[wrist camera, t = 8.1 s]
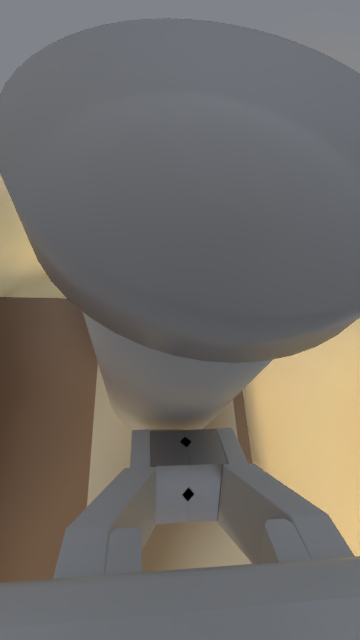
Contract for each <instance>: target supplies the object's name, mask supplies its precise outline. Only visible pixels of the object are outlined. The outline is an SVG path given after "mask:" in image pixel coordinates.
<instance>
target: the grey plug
mask: <svg viewBox="0 0 360 640" xmlns="http://www.w3.org/2000/svg"><path fill="white" fill-rule="evenodd" d="M0 173H1V176H2V178H3V180H4V183H5V185H6V187H7V190H8V192H9V194H10V197H11V199H12V201H13V204H14V206H15V208H16V211H17V213H18V215H19V218H20V220H21V222H22V225H23V227H24V229H25V232H26V234H27V236H28V239H29V241H30V243H31V246H32V248H33V250H34V252H35V255H36V257H37V259H38V261H39V263H40V264H41V266H42V267H43V269H44V270H45V272H46V273H47V275H48V276H49V278H50V279H51V281H52V282H53V283H54V284H55V285H56V286H57V288H58V289H59V290H60V291H61V292H62V293H63V294H64V295H65V296H66V297H67V299H68V300H69V301H71V302H72V303H73V304H74V305H75V306H77V307H78V308H79V309H80V310H82V312H83V315H84V318H85V322H86V325H87V328H88V332H89V335H90V338H91V341H92V345H93V348H94V351H95V355H96V358H97V361H98V364H99V368H100V371H101V374H102V378H103V381H104V384H105V388H106V391H107V394H108V397H109V401H110V404H111V406H112V409H113V411H114V413H115V414H116V416H117V417H118V419H119V420H120V421H121V422H122V423H123V425H125V426H126V427H127V428H128V429H129V430H130V431H132V430H144V429H149V431H150V429H183V430H191V429H203V428H204V427H205V426H206V425H207V424H208V423H209V422H210V421H211V420H212V419H213V418H214V417H215V416H217V415H218V414H219V413H220V412H221V411H222V410H223V409H224V408H225V407H226V406H227V405H228V404H229V403H230V402H231V401H232V400H233V399H234V398H235V397H236V396H237V395H238V394H239V393H240V392H241V391H242V390H243V389H244V388H245V387H246V386H247V385H248V384H249V383H250V382H251V381H252V380H253V379H254V378H255V377H256V376H257V375H258V374H259V373H260V372H261V371H262V370H263V369H264V368H265V367H266V366H267V365H268V364H269V363H270V362H271V361H272V360H273V359H276V358H281V357H286V356H291V355H294V354H297V353H300V352H302V351H305V350H308V349H311V348H314V347H316V346H318V345H320V344H322V343H324V342H325V341H327V340H329V339H331V338H333V337H334V336H336V335H338V334H339V333H340V332H342V331H343V330H344V329H345V328H347V327H348V326H349V325H350V324H352V323H353V322H354V321H355V320H357V319H358V318H359V317H360V74H359V73H358V72H356V71H355V70H353V69H351V68H349V67H348V66H346V65H344V64H342V63H341V62H339V61H337V60H335V59H333V58H331V57H329V56H327V55H325V54H323V53H320V52H318V51H316V50H314V49H311V48H309V47H307V46H304V45H302V44H299V43H297V42H294V41H291V40H288V39H285V38H282V37H279V36H276V35H272V34H269V33H266V32H262V31H258V30H255V29H250V28H246V27H240V26H236V25H231V24H224V23H218V22H212V21H203V20H192V19H170V18H166V19H141V20H131V21H123V22H117V23H111V24H105V25H101V26H97V27H94V28H90V29H86V30H83V31H80V32H77V33H74V34H72V35H69V36H66V37H64V38H62V39H60V40H58V41H56V42H54V43H52V44H50V45H48V46H46V47H45V48H43V49H42V50H40V51H39V52H37V53H35V54H34V55H32V56H31V57H30V58H29V59H28V60H26V61H25V62H24V63H23V64H22V65H21V66H20V67H19V68H17V70H16V71H15V72H14V74H13V75H12V76H11V77H10V78H9V80H8V81H7V82H6V83H5V85H4V87H3V89H2V91H1V93H0Z"/></svg>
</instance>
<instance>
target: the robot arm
mask: <svg viewBox="0 0 360 640" xmlns="http://www.w3.org/2000/svg"><path fill="white" fill-rule="evenodd" d="M206 521H218V522H217V523H218V524H219V525H220V526H221V528H222V529H223V530H224V531H225V532H226V533H227V535H228V536H229V537H230V538H231V539H232V540H233V542H234V543H235V544H236V545H237V546H238V548H239V549H240V550H241V551H242V552H243V553H244V555H245V556H246V557H247V558H248V559H249V560H250V562H251V563H252V564H245V565H232V566H218V567H205V568H191V569H178V570H165V571H151V572H142V549H143V547H144V546H145V544H146V542H147V540H148V538H149V537H150V535H151V533H152V531H153V529H154V528H155V525H158V524H169V523H181V522H206ZM0 640H360V556H357V557H355V556H354V555H353V553H352V551H351V550H350V548H349V547H348V545H347V544H346V542H345V540H344V539H343V537H342V536H341V534H340V533H339V531H338V529H337V528H336V526H335V525H334V523H333V522H332V520H331V518H330V517H329V515H328V514H326V513H325V512H323V511H322V510H320V509H319V508H318V507H316V506H315V505H313V504H312V503H310V502H309V501H307V500H306V499H304V498H303V497H301V496H300V495H299V494H297V493H296V492H294V491H293V490H291V489H290V488H288V487H287V486H285V485H284V484H282V483H281V482H280V481H278V480H277V479H275V478H274V477H272V476H271V475H269V474H268V473H266V472H265V471H263V470H262V469H261V468H259V467H258V466H256V465H255V464H253V463H248V462H247V460H246V457H245V455H244V453H243V451H242V448H241V446H240V444H239V442H238V439H237V437H236V435H235V433H234V430H233V429H232V428H231V427H227V428H215V429H191V430H183V429H150V431H149V429H144V430H132V437H131V455H130V468H124V469H123V470H122V471H121V472H120V473H119V474H118V475H117V476H116V477H115V479H114V480H113V481H112V482H111V483H110V484H109V485H108V486H107V487H106V488H105V489H104V490H103V491H102V492H101V493H100V494H99V495H98V496H97V497H96V498H95V499H94V500H93V501H92V502H91V503H90V504H89V505H88V507H87V508H86V509H85V510H84V511H83V512H82V513H81V514H80V515H79V516H78V517H77V518H76V519H75V520H74V521H73V522H72V523H71V524H70V525H69V526H68V527H67V528H66V530H65V534H64V538H63V541H62V545H61V549H60V553H59V557H58V561H57V564H56V568H55V572H54V576H53V579H42V580H29V581H15V582H2V583H0Z"/></svg>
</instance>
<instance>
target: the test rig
mask: <svg viewBox="0 0 360 640" xmlns="http://www.w3.org/2000/svg"><path fill="white" fill-rule="evenodd" d="M227 427H231V428H232V429H233V430H234V433H235V435H236V437H237V439H238V442H239V444H240V446H241V448H242V451H243V453H244V455H245V457H246V460H247V462H248V463H252V459H251V452H250V444H249V437H248V430H247V423H246V415H245V408H244V401H243V394H242V391H241V392H240V393H239V394H238V395H237V396H236V397H235V398H234V399H233V400H232V401H231V402H230V403H229V404H228V405H227V406H226V407H225V408H224V409H223V410H222V411H221V412H220V413H219V414H218V415H217V416H215V417H214V418H213V419H212V420H211V421H210V422H209V423H208V424H207V425H206V426H205V427H204V428H203V429H215V428H227ZM131 437H132V431H130V430H129V429H128V428H127V427H126V426H125V425H123V423H122V422H121V421H120V420H119V419H118V417H117V416H116V414H115V413H114V411H113V409H112V406H111V404H110V401H109V397H108V394H107V391H106V388H105V384H104V381H103V378H102V374H101V371H100V368H99V364H98V361H97V358H96V355H95V351H94V348H93V345H92V341H91V338H90V335H89V332H88V328H87V325H86V322H85V318H84V315H83V312H82V310H80V309H79V308H78V307H77V306H75V305H74V304H73V303H72V302H71V301H69V300H68V299H61V298H11V297H0V583H2V582H15V581H29V580H42V579H53V576H54V572H55V568H56V564H57V561H58V557H59V553H60V549H61V545H62V541H63V538H64V534H65V530H66V528H67V527H68V526H69V525H70V524H71V523H72V522H73V521H74V520H75V519H76V518H77V517H78V516H79V515H80V514H81V513H82V512H83V511H84V510H85V509H86V508H87V507H88V505H89V504H90V503H91V502H92V501H93V500H94V499H95V498H96V497H97V496H98V495H99V494H100V493H101V492H102V491H103V490H104V489H105V488H106V487H107V486H108V485H109V484H110V483H111V482H112V481H113V480H114V479H115V477H116V476H117V475H118V474H119V473H120V472H121V471H122V470H123V469H124V468H130V455H131ZM217 522H218V521H206V522H181V523H169V524H158V525H155V528H154V529H153V531H152V533H151V535H150V537H149V538H148V540H147V542H146V544H145V546H144V547H143V549H142V572H151V571H165V570H178V569H191V568H205V567H218V566H232V565H245V564H252V563H251V562H250V560H249V559H248V558H247V557H246V556H245V555H244V553H243V552H242V551H241V550H240V549H239V548H238V546H237V545H236V544H235V543H234V542H233V540H232V539H231V538H230V537H229V536H228V535H227V533H226V532H225V531H224V530H223V529H222V528H221V526H220V525H219V524H218V523H217Z"/></svg>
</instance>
